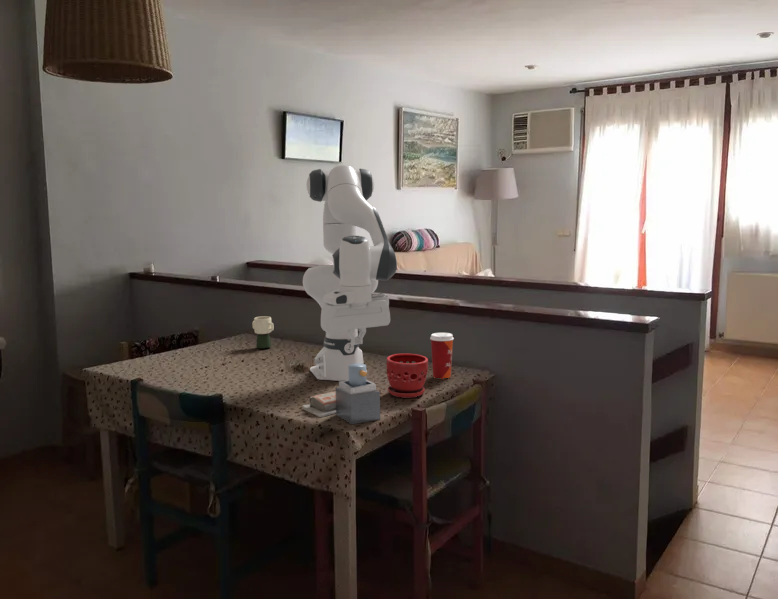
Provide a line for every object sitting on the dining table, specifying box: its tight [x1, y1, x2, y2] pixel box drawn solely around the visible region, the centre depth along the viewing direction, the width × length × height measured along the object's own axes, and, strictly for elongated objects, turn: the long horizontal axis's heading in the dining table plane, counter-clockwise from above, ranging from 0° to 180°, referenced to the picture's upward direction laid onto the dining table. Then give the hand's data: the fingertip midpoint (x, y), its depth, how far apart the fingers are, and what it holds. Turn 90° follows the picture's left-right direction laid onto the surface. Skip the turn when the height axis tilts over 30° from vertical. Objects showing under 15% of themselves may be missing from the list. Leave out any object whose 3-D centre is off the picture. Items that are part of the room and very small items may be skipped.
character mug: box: [251, 315, 275, 349], centre depth 281 cm, size 11×7×13 cm, turn 62°
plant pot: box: [386, 353, 429, 399], centre depth 212 cm, size 13×13×12 cm
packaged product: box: [302, 390, 336, 418], centre depth 200 cm, size 18×5×10 cm
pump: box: [348, 363, 368, 387], centre depth 189 cm, size 7×5×7 cm
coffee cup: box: [429, 332, 455, 380], centre depth 232 cm, size 8×8×15 cm
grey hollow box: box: [335, 378, 381, 425], centre depth 191 cm, size 10×9×10 cm
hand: (356, 344), depth 188 cm, fingers closed
